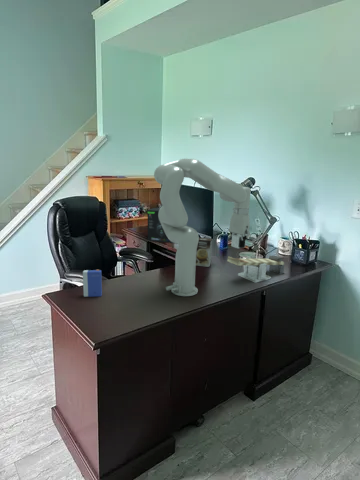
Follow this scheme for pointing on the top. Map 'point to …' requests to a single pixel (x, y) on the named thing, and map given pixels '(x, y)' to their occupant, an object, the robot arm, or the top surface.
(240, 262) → the beam
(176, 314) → the top surface
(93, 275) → the walkman
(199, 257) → the coffee box
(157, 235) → the headset box
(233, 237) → the block
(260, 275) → the beam stand
